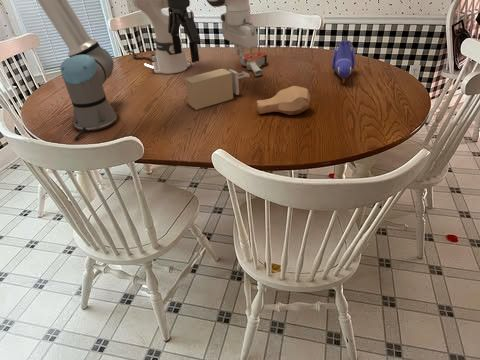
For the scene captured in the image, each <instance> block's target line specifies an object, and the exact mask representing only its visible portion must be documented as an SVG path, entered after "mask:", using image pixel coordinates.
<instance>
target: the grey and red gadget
mask: <svg viewBox="0 0 480 360" xmlns="http://www.w3.org/2000/svg"><path fill="white" fill-rule="evenodd" d="M253 55H256V56H253ZM267 55H268V54H267V53H266V52H265V51H258V52H252V53H244V56H239V63H240V64H242V66H243V67H246V70H247V71H252V73H253V74H254V76H255V77H258V76H261V75H262V74H263V69H262V68H261V67H262V66H265V65H267V62H268V60H267V58H268V56H267Z"/></svg>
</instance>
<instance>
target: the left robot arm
mask: <svg viewBox="0 0 480 360" xmlns="http://www.w3.org/2000/svg"><path fill="white" fill-rule="evenodd" d="M36 1H37V3H38V5H39V6H40V8H41V9H42V10H43V12H44V13H45V15H46V16H47V18H48V19H49V21H50V22H51V24H52V26H53V27H54V28H55V30H56V31H57V33H58V34H59V36H60V38H61V39H62V40H63V43H65V45H66V47H67V48H68V54H67V55H68V57H67V58H65V59H64V60H63V61H62V62H61V64H60V66H59V68H60V72H61V77H62V79H63V82H64V84H65V87H66V90H67V93H68V96H69V99H70V101H71V104H72V108H73V114H72V117H73V118H72V119H73V125H74V128H75V129H76V131H78V133H77V134H76V135H75V137H74V141H78V140H79V138H80V137H81V136H82V134H83V133H92V132H99V131H102V130H105V129H107V128H110V127H111V126H113V125H115V124H116V122H117V121H118V116H117V113H116V111H115V110H114V108H113V107H112V105H111V103H110V102H109V101H108V99H107V96H106V92H105V89H104V87H103V86H104V84H105V83H106V81H107V80H108V79H109V78H110V77H111V75H112V73H113V72H114V66H115V65H114V59H113V57H112V55H111V54H110V52H109V51H108V50H107V49H105V48H103V47H101V45H100V43H99V42H98V40H96V39H94V38H92V37H91V36H90V35H89V33H88V32H87V31H86V29H85V27H84V25H83V24H82V22H81V20H80V19H79V17H78V16H77V14H76V12H75V10H74V9H73V8H72V6H71V4H70V3H69V0H36ZM167 2H168V7H169V8H167V11H168V16H169V23H168V33H171V36H172V40H173V46H174V52H175V54H180V53H182V50H181V47H182V46H181V45H182V43H181V44H180V39H181V38H180V37H181V36H180V31H179V30H180V27H182V28H183V30H184V32H185V34H186V36H187V38H188V40H189V42H188V45H189V51H190V52H189V53H190V58H191V63H196V62H200V55H199V54H200V53H199V47H198V46H199V45H198V43H200V42H201V38H200V34H199V31H198V29H197V28H198V27H197V25H196V22H195V19H194V13H193V11H188V9H187V8H189V7H190V6H191V2H190V0H167ZM178 31H179V32H178Z"/></svg>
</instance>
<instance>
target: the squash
mask: <svg viewBox="0 0 480 360" xmlns="http://www.w3.org/2000/svg"><path fill="white" fill-rule="evenodd" d="M311 98H312V97H311V95H310V90H309V89H307V88H306V87H302V86H298V85H292V86H289V87H287V88H283V89H280V90H279V91H277V92H276V94H275V95H274V96H272V97H271V98H265V99H257V100H256V102H255V103H256V107H257V109H256V110H257V113H258V114H259V115H263V114H266V113H273V112H275V113H282V114H284V115H287V116H295V115H300V114H301V113H303V112H305V111H306V110H308V109H309V107H310V102H311Z"/></svg>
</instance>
